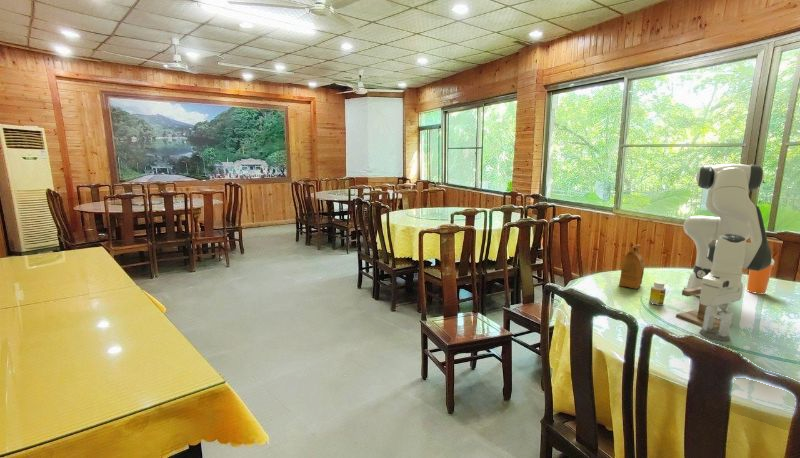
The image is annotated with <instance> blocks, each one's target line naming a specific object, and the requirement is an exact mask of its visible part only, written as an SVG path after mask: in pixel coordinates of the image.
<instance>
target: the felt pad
mask: <svg viewBox="0 0 800 458" xmlns="http://www.w3.org/2000/svg"><path fill="white" fill-rule="evenodd" d="M698 333H699V334H700V335H701V336H702V337H705V338H707V339H709V340H712V341H717V342H729V341H730V340H731V337H730V335H727V336H724V337H723V336H720V335H718V333H719V330H704V329H702V328H701V329H700V330H699V332H698Z"/></svg>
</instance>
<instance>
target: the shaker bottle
mask: <svg viewBox="0 0 800 458" xmlns="http://www.w3.org/2000/svg"><path fill="white" fill-rule="evenodd" d="M774 265H775V259H773V258H772V261H771V264H770V266H769V267H767V268H765V269H763V270H760V271H755V270H750V269H748V270H749V273H748V278H747V286H746V291H747V290H749V291H751V292H756V293H765V292H767V289H768V284H769V281H770V278H771V274H772V270H773V267H774ZM751 292H750V293H751ZM765 294H766V293H765Z"/></svg>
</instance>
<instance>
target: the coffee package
mask: <svg viewBox="0 0 800 458" xmlns="http://www.w3.org/2000/svg"><path fill="white" fill-rule="evenodd" d="M642 247H643V246H642V245H641V243H638V244H635V245H633V246H632V248H631V249H630V250H629V251H628V252H627V253H626V254H625V256H623V257H624V258H623V261H622V265H621V268H620V270H621V271H620V278H619V284H618V285H619V287H623V288H630V289H638V288H639V287H640V286H641V285H642V283H643V277H644V270H645V263H644V258H643V257H642V255H641V253H640V249H641V248H642Z"/></svg>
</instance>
